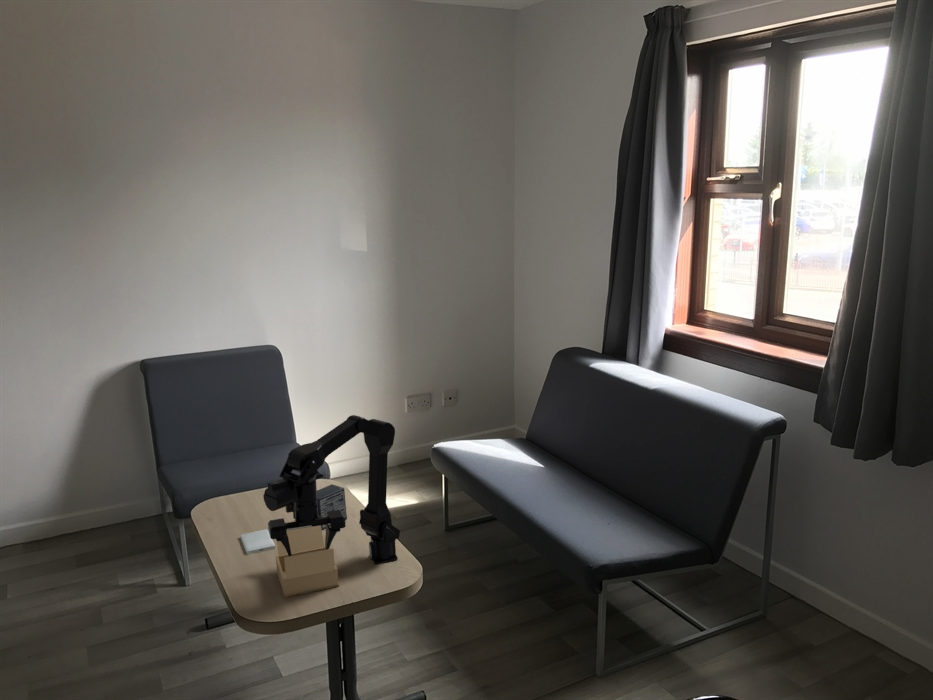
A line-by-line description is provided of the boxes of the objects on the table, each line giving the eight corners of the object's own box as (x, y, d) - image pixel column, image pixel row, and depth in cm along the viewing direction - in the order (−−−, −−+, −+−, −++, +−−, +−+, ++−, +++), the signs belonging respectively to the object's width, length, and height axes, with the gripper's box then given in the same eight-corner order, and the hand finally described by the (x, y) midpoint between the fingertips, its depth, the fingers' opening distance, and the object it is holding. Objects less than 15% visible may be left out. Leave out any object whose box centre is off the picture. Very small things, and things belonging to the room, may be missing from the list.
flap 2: (285, 578, 198) (286, 579, 198) (284, 556, 197) (284, 557, 196) (334, 569, 202) (334, 570, 202) (333, 547, 201) (333, 548, 200)
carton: (328, 563, 217) (327, 546, 216) (338, 586, 204) (337, 568, 203) (277, 573, 212) (275, 556, 211) (284, 597, 199) (282, 579, 198)
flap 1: (324, 546, 215) (324, 547, 216) (320, 524, 218) (320, 525, 218) (278, 555, 211) (278, 555, 211) (275, 532, 213) (275, 533, 214)
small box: (334, 514, 249) (331, 483, 247) (347, 519, 245) (345, 487, 243) (308, 525, 241) (305, 493, 239) (321, 531, 237) (319, 498, 235)
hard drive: (240, 534, 234) (246, 551, 223) (267, 528, 237) (275, 544, 226) (240, 539, 234) (247, 556, 223) (268, 533, 238) (276, 550, 227)
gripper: (336, 481, 207) (338, 535, 210) (263, 491, 200) (267, 547, 204) (344, 497, 197) (347, 554, 200) (268, 508, 190) (272, 566, 194)
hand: (308, 554), depth 200 cm, fingers open, 9 cm apart
